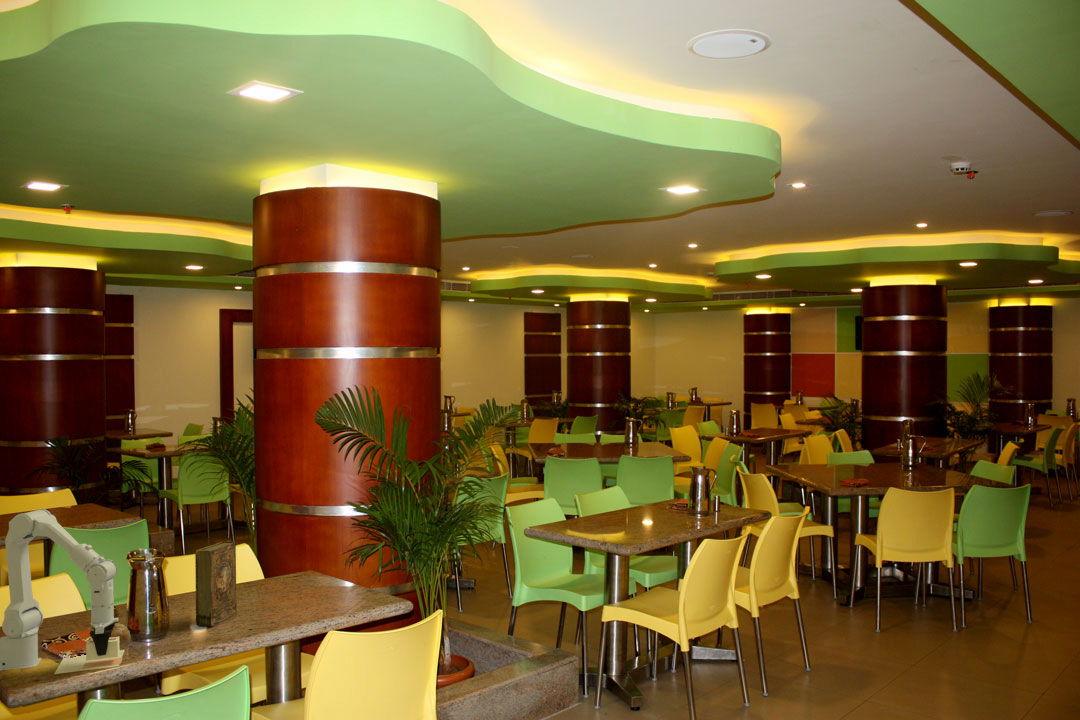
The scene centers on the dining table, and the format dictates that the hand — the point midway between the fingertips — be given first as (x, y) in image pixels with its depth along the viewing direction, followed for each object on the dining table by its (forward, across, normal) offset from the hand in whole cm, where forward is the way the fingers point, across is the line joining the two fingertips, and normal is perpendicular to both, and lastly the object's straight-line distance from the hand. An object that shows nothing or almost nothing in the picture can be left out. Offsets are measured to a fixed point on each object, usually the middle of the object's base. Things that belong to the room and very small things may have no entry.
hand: (102, 652), depth 243 cm
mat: (+4, +4, +4) cm, 6 cm away
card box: (+1, 0, 0) cm, 1 cm away
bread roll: (+4, +22, 0) cm, 23 cm away
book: (+4, +36, -30) cm, 47 cm away
